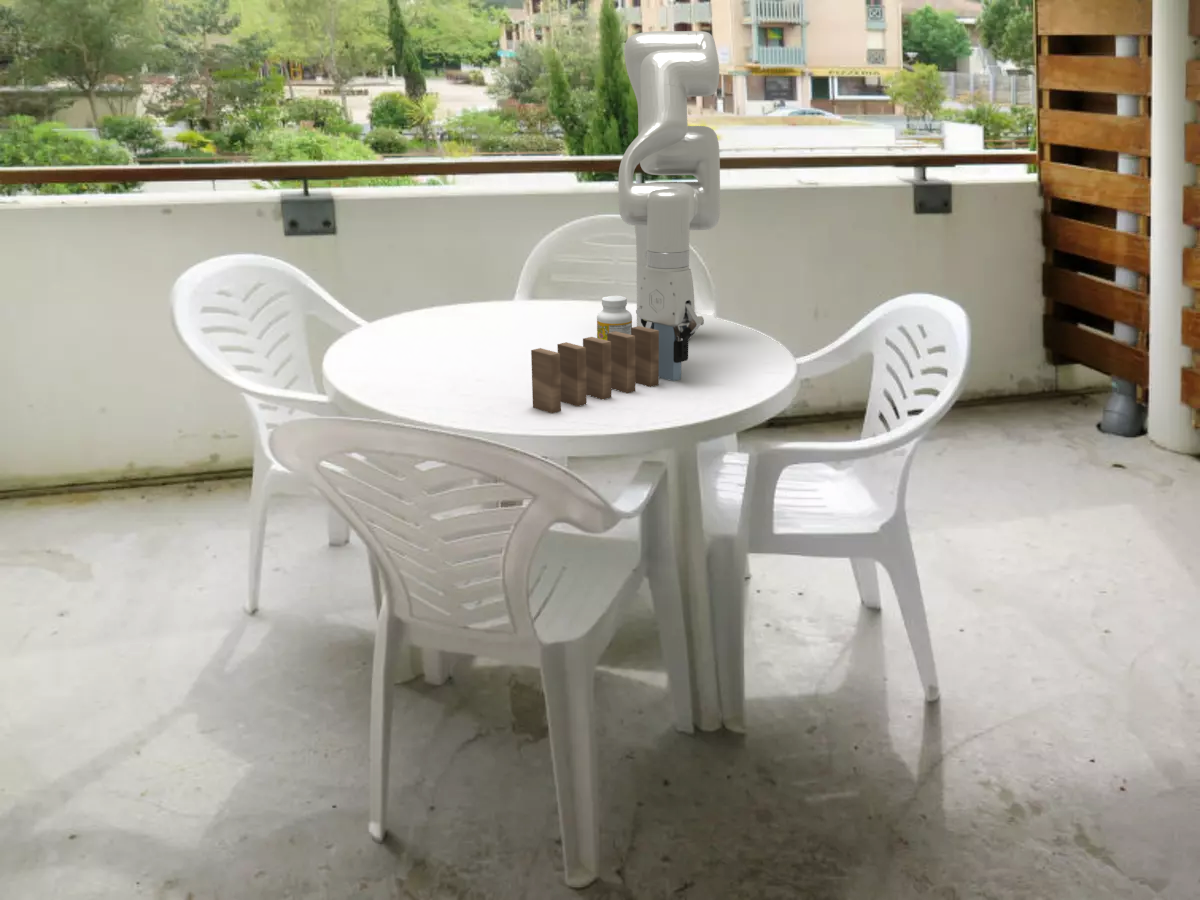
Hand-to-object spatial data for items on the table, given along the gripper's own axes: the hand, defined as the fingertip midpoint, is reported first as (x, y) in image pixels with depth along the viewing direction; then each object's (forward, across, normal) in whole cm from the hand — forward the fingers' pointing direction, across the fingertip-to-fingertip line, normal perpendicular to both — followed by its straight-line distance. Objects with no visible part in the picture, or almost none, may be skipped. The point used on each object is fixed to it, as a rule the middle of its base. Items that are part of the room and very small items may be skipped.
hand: (667, 357), depth 236 cm
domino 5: (+4, 0, -6) cm, 7 cm away
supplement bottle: (+4, -14, 0) cm, 14 cm away
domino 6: (+4, 0, 0) cm, 4 cm away
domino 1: (+4, 0, -29) cm, 29 cm away
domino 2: (+4, 0, -23) cm, 24 cm away
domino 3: (+4, 0, -17) cm, 18 cm away
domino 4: (+4, 0, -12) cm, 12 cm away
